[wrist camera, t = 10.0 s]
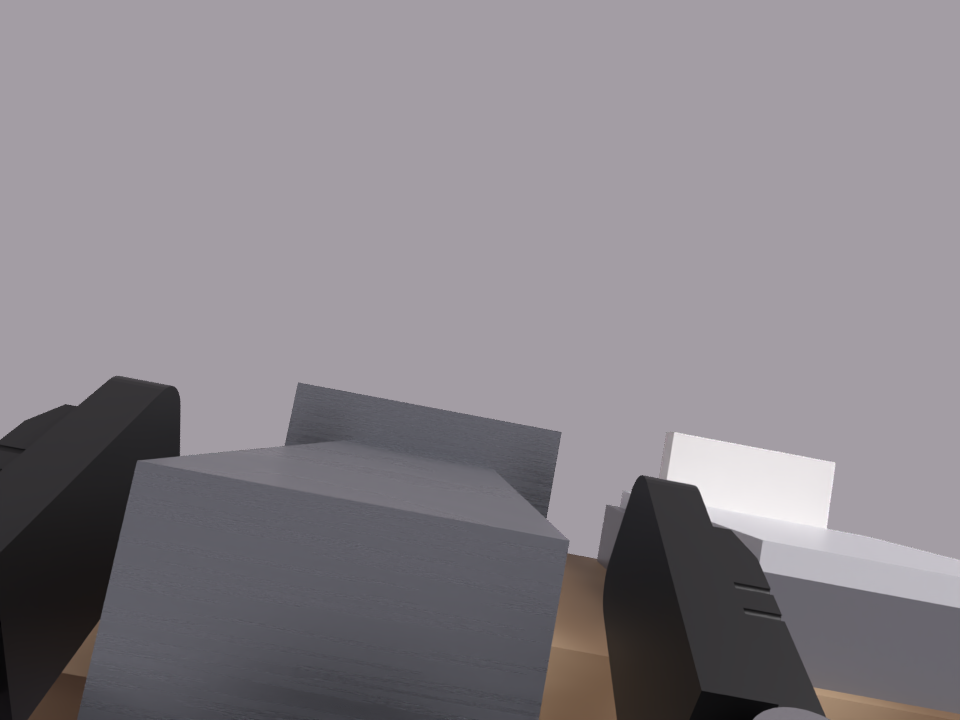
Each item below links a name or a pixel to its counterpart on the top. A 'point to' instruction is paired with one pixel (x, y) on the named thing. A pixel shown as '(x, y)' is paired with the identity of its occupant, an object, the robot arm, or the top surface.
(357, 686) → the block
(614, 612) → the robot arm
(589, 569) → the oak shelf
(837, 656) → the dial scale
